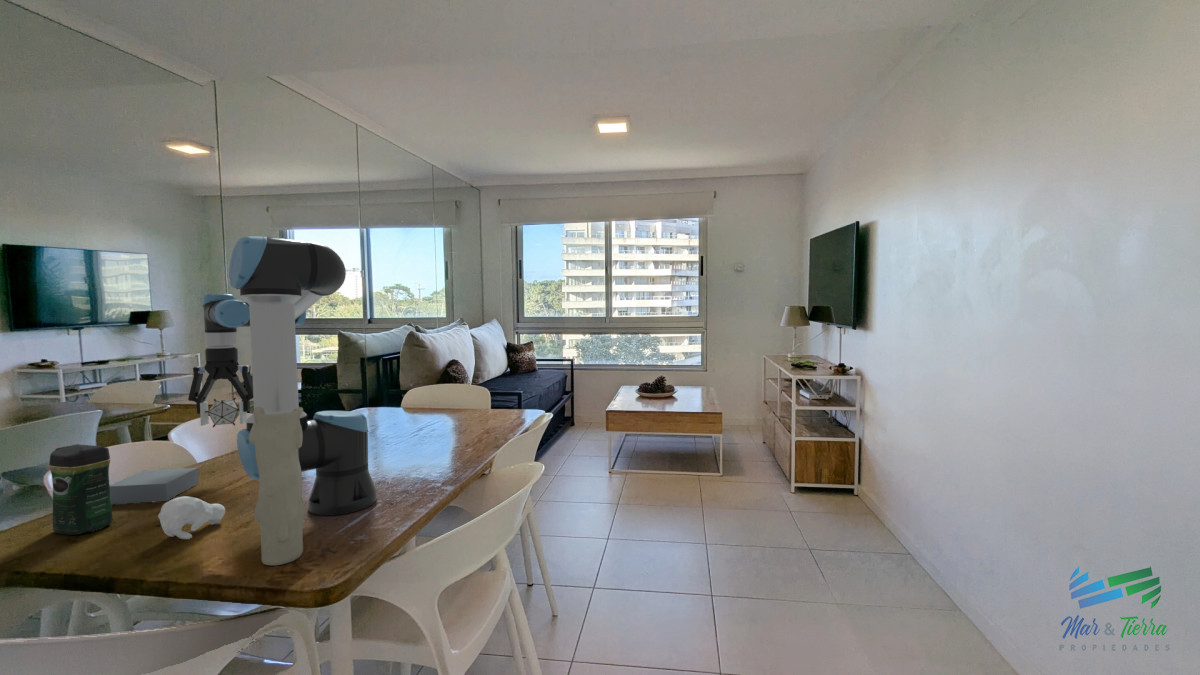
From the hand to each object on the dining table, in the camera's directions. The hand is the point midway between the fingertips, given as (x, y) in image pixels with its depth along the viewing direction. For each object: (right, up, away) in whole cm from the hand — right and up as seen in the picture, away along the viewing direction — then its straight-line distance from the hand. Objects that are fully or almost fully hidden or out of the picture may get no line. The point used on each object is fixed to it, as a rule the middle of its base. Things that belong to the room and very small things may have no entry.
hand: (224, 423), depth 146 cm
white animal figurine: (+22, -17, -37) cm, 46 cm away
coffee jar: (-4, -17, -36) cm, 40 cm away
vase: (+48, -18, -49) cm, 71 cm away
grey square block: (-7, -16, -15) cm, 23 cm away
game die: (0, -1, 0) cm, 1 cm away
